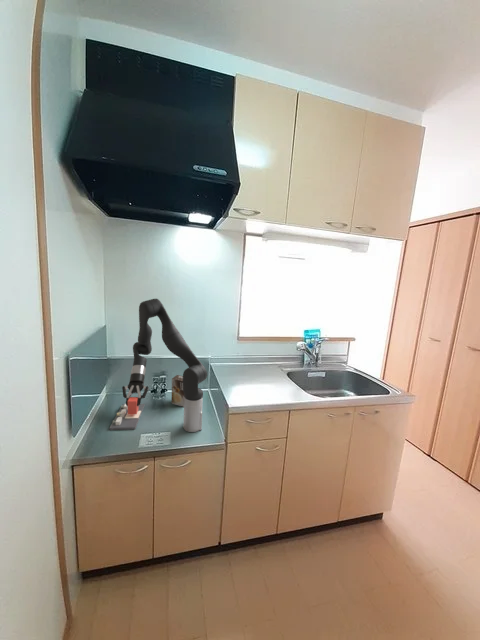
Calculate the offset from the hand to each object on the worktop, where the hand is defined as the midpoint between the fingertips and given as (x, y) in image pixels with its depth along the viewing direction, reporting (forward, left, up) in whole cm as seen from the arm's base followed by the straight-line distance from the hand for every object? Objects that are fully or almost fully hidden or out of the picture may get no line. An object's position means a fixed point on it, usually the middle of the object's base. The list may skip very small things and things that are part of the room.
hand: (132, 405), depth 138 cm
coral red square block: (0, -1, -4) cm, 4 cm away
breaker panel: (+2, -1, -7) cm, 8 cm away
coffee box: (-24, -15, -7) cm, 29 cm away
